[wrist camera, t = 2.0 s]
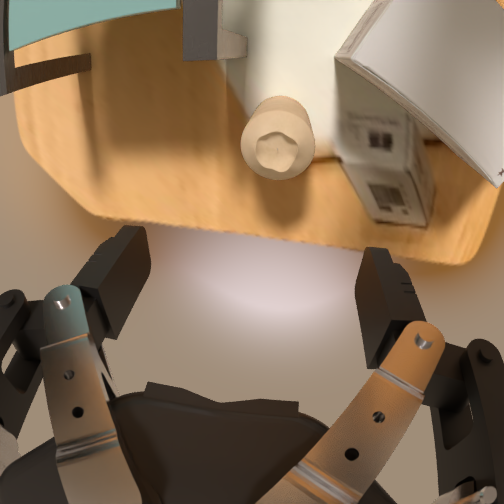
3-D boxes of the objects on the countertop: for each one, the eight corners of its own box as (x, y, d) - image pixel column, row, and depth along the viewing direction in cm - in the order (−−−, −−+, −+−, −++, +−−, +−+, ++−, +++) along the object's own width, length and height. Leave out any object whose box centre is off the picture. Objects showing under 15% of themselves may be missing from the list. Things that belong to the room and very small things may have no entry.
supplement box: (512, 73, 22) (566, 90, 14) (455, 155, 29) (498, 192, 21) (397, -35, 18) (434, -60, 11) (331, 58, 26) (348, 60, 18)
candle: (299, 88, 28) (304, 104, 19) (315, 140, 30) (325, 177, 22) (245, 104, 29) (226, 127, 21) (263, 154, 32) (252, 195, 24)
